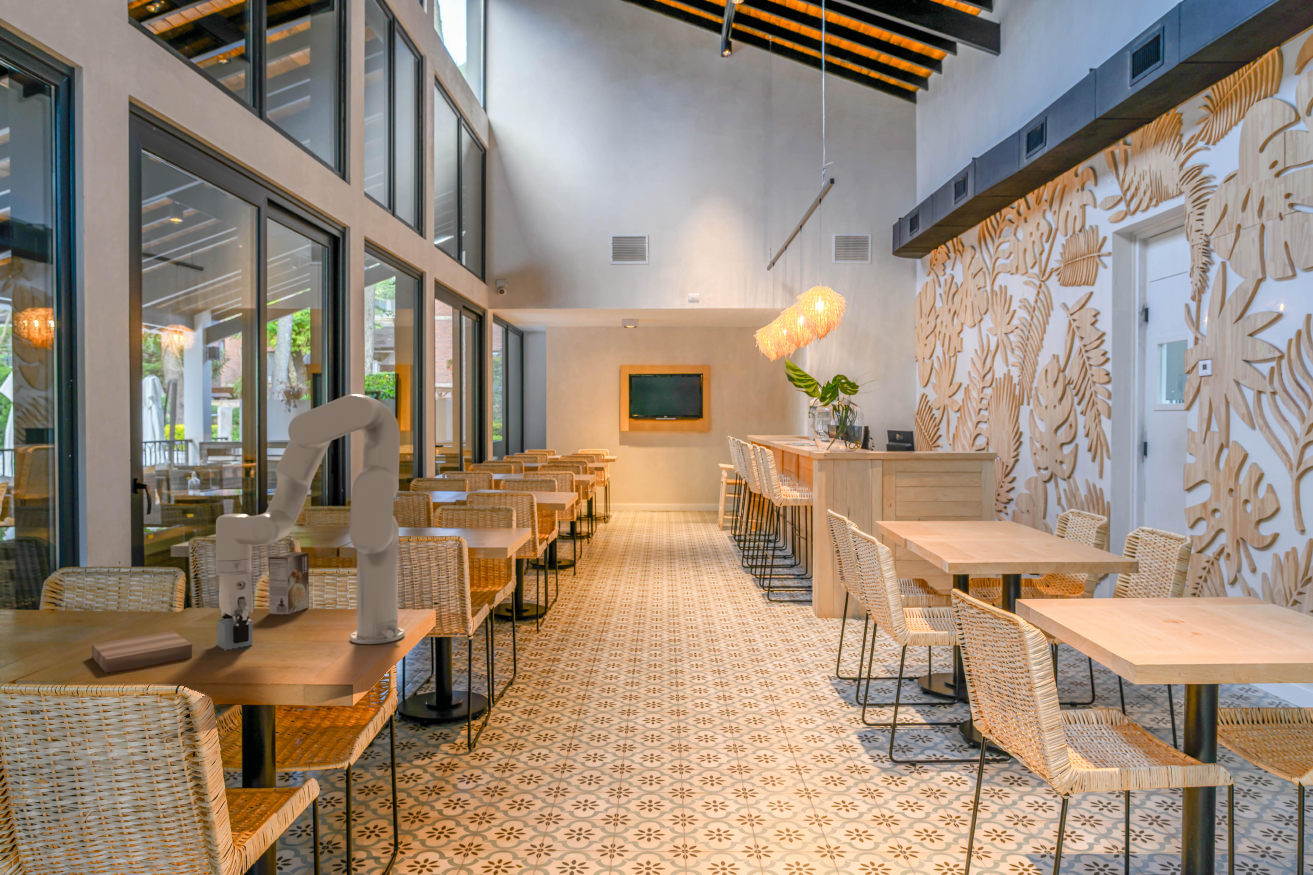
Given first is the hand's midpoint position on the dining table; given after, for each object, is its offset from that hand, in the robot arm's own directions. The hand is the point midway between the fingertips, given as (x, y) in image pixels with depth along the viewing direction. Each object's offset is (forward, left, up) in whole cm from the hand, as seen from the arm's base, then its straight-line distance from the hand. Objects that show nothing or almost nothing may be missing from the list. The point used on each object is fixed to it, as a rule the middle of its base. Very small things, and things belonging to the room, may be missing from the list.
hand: (234, 638), depth 184 cm
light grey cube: (0, 0, -2) cm, 2 cm away
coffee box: (+27, -22, -2) cm, 35 cm away
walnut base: (+4, +18, -2) cm, 19 cm away
